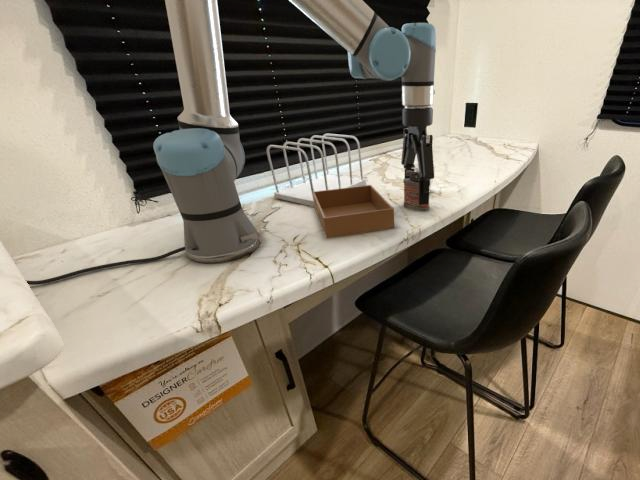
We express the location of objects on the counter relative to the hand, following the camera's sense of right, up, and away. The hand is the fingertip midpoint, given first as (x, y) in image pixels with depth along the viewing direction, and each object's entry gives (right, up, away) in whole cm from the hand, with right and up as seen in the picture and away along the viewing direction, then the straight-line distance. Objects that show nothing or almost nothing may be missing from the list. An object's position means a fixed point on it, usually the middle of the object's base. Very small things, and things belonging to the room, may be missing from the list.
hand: (416, 197), depth 92 cm
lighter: (0, -2, +2) cm, 3 cm away
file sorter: (-30, +7, +15) cm, 34 cm away
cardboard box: (-18, -7, -4) cm, 19 cm away
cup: (+2, +7, +14) cm, 16 cm away
